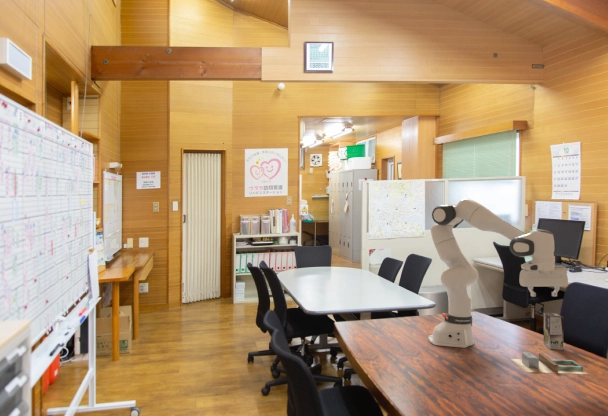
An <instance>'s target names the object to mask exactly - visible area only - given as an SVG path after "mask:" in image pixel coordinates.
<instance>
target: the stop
mask: <svg viewBox="0 0 608 416" xmlns="http://www.w3.org/2000/svg"><path fill="white" fill-rule="evenodd" d="M521 359H522V363H523V364H525V365H526V366H527V367H528V368H530V369H539V356H538V357H537V355H535V354H534V353H533V352H527V351H526V352H524V351H523V352H521Z"/></svg>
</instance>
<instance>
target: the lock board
mask: <svg viewBox="0 0 608 416" xmlns="http://www.w3.org/2000/svg"><path fill="white" fill-rule="evenodd" d="M538 358H539V369H530V368H528V367H527V366H526V365H525V364H523V363H522V358H510V360H511V361H512V362H513V363H514V364H515V365H516V366H518V367H519V368H520V370H522V371H523V372H524V373H538V374H539V373H543V374H545V373H547V374H568V375H569V374H572V375H573V374H575V375H589V373H588V372H587V371H585V370H584V367H583V366H582V365H580V363H578V362H576V361H575V360H572V359H551V358H550V357H548V356H547V355H545V354H544V353H543V352H542V353H541V352H539V353H538Z"/></svg>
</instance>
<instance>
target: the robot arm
mask: <svg viewBox="0 0 608 416" xmlns="http://www.w3.org/2000/svg"><path fill="white" fill-rule="evenodd" d="M431 218H432V220H433V222H434V224H433V225H432V226H431V228H430V234H431V237H432V238H431V239H432V242H433V245H434V247H435V249H436V251H437V254H438V256H439V259H440V260H441V261H442V262H443V263H444V264H446V266H447V269H446V270H444V271H443V272H442V273H441V275H440V282H441V284H442V286H443V287H444V288H445V291H446V293H447V298H448V300H447V301H448V313H445V312H443V313H442V314H441V316H442V317H443V318H444V320H443V321H442V322H440V323H439V324H437V325H436V326H434V328H433V331H432V334H429V335H428V337H427V338H428V341H429V343H431V344H433V345H435V346H442V347H455V348H463V349H466V348H468V347H471V346H473V345H475V340H474V336H473V330H472V329H473V328H472V327H473V315H472V299H471V297H469V294H468V290H467V288H468V287H471V286H473V285H475V284H476V283H477V282H478V280H479V272H478V269H476V267H474V266H472V264H471V263H470V262H469V261H468V259H467V258H466V257H465V256H464V254H463V252H462V251H461V248H460V246H459V244H458V242H457V240H456V237H455V235H454V233H453V232H454V231H453V229H456V228H457V227H458V226H459V225H460V224H461V223H463V222H464V221H465V222H467V223H468V224H469V225H470V226H471V227H473V228H474V229H475V228H476V229H477V230H480V231H482V232H492V233H496V234H499V235H502V237H505V238H507V239H509V241H510V242H509V251H510V252H511V254H513V255H514V256H515V257H519V258H526V257H531V260H530V261H528V262H524V263H523V264H522V263H521V264H520V267H521V270H520V272H519V279H518V280H519V284H520V286H521V287H524V288H525V287H526V288H527V289H528V291H529V293H530V297H532V298H534V297H536V296H537V293H536V292H535V291H534V287H536V288H537V287H553V288H554V290H553V291H551V297H558V292H559V291H560V288H561V287H567V286H568V285H569V279H568V269H567V267H566V266H564V265H562V264H561V265H556V263H555V262H556V259H555V255H554V252H555V239H554V234H553V233H552V232H551V231H549V230H548V229H547V230H546V229H540V228H535V229H533V230H532V231H530V232H528V233H526V232H524V231H522V230H520V229H518V227H517V228H516V227H515V226H513V225H512V224H510V223H508V222H507V221H505V220H504V219H502V218H501V217H499V216H498V215H496V214H495V213H494V212H492V211H491V210H490V209H488V208H487V207H486V206H485V205H483V204H480V203H479V202H477V201H476V200H473V199H470V198H462V199H460V200H459V201H458V202H457V204H450V203H448V204H439V205H437V206H436V207H434V208H433V210H432V213H431Z"/></svg>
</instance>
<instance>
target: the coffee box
mask: <svg viewBox="0 0 608 416" xmlns="http://www.w3.org/2000/svg"><path fill="white" fill-rule="evenodd" d="M564 321H565V317H564V316H562V315H560V314H559V313H557V312H543V344H544V345H545V346H546V347H547V348H549V350H559V351H564V329H565V328H564V327H565V326H564V323H565V322H564Z"/></svg>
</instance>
